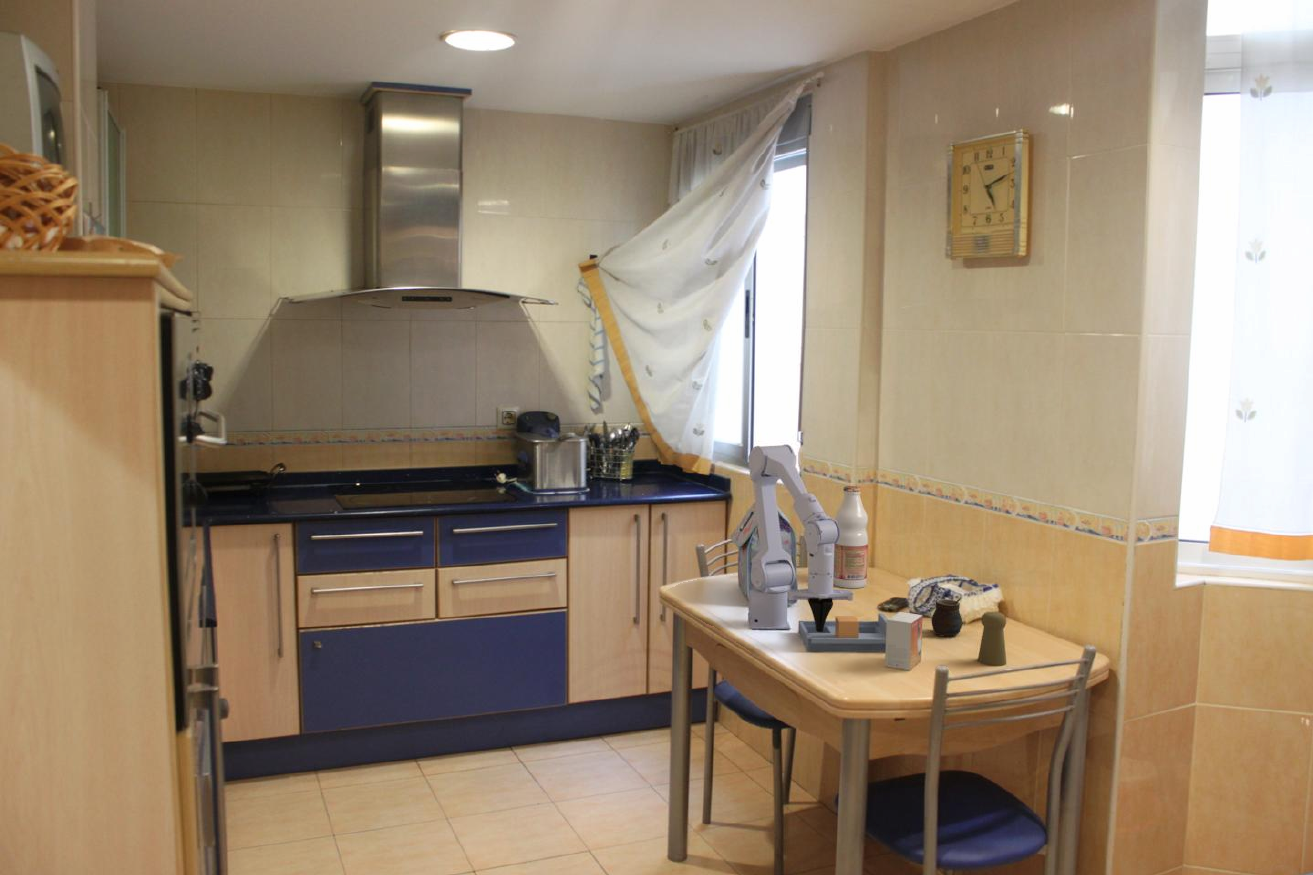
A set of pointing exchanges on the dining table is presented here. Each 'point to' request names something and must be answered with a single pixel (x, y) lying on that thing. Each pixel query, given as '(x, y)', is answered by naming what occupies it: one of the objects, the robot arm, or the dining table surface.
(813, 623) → the tray
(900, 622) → the small box
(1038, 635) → the dining table surface
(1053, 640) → the dining table surface
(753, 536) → the lunch bag
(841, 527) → the fruit juice
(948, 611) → the mate gourd
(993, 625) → the olive green pepper mill
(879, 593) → the dining table surface
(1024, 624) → the dining table surface
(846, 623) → the block
